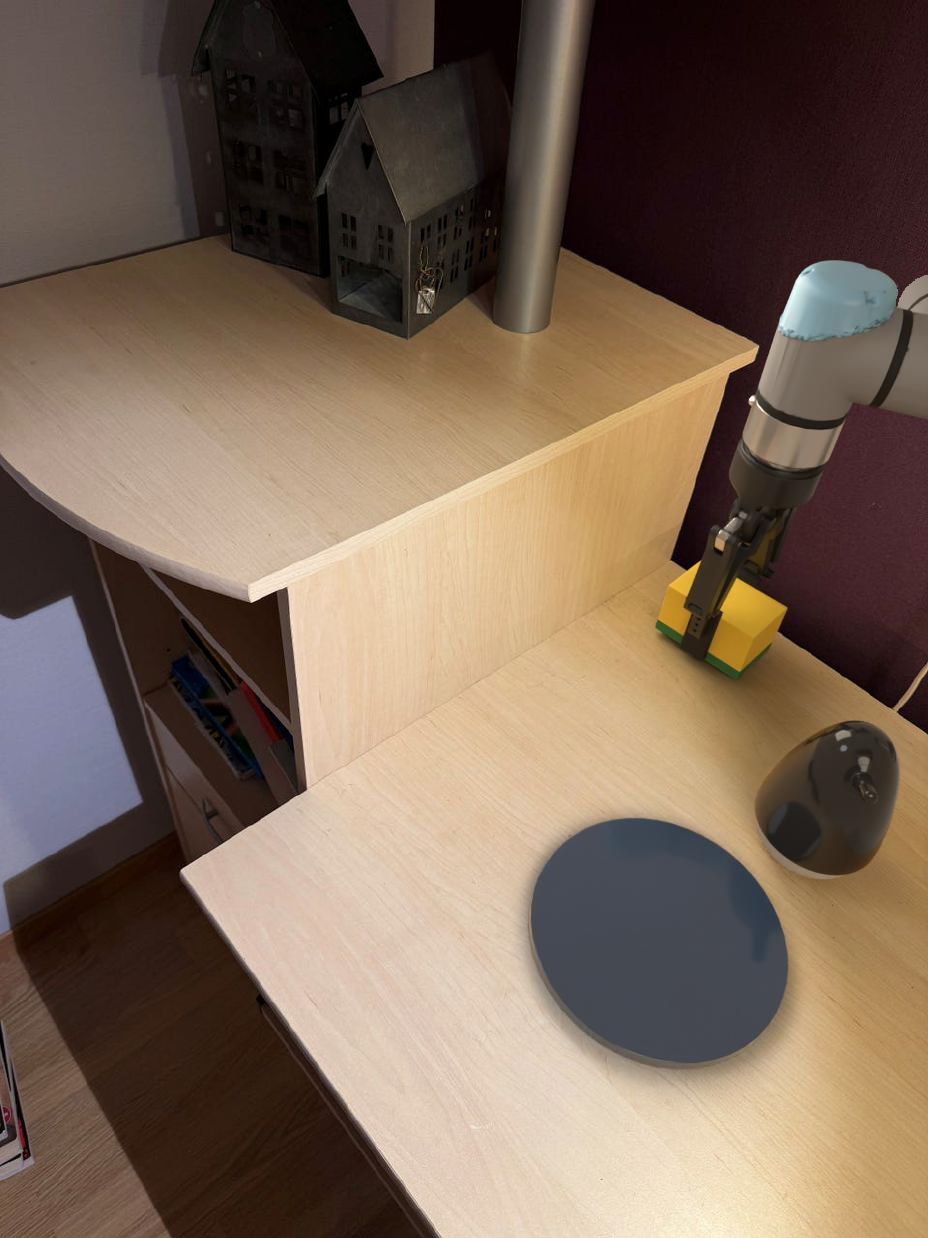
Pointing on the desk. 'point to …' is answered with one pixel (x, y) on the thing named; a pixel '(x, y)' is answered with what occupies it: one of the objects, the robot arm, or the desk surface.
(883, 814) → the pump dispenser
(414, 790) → the desk surface
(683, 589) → the sponge
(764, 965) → the plate
